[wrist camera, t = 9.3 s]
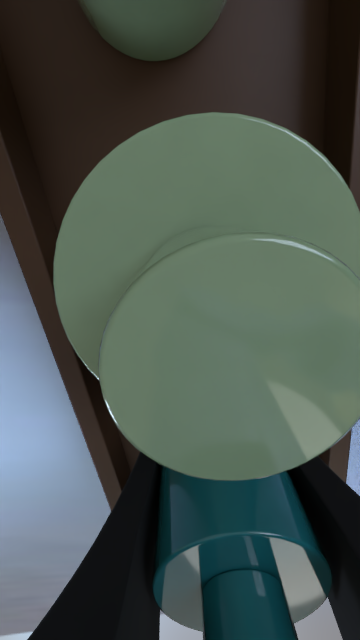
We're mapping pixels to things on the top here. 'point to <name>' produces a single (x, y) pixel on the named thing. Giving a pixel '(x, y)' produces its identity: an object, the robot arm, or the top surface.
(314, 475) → the robot arm
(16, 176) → the tray
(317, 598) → the teal bottle
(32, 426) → the top surface
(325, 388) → the green bottle middle
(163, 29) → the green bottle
